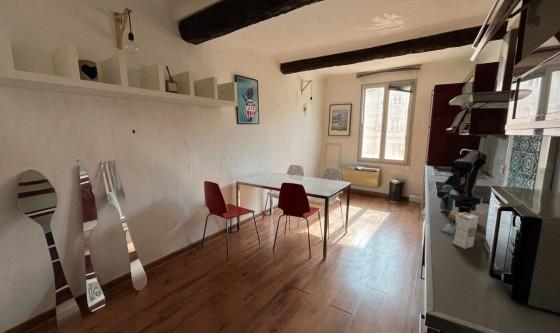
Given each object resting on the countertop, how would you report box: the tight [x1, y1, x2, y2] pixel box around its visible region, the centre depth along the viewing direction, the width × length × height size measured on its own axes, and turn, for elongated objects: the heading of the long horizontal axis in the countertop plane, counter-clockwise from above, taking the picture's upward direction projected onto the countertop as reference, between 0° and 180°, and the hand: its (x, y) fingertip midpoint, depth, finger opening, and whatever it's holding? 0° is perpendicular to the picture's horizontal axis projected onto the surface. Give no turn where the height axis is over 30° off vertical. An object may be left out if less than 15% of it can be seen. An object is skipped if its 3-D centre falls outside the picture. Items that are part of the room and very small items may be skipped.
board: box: [441, 223, 455, 235], centre depth 117 cm, size 11×9×1 cm
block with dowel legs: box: [448, 210, 462, 225], centre depth 125 cm, size 8×5×6 cm, turn 130°
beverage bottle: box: [439, 179, 455, 212], centre depth 142 cm, size 6×7×20 cm
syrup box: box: [451, 212, 479, 250], centre depth 102 cm, size 6×6×14 cm
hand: (456, 211), depth 124 cm, fingers open, 9 cm apart
